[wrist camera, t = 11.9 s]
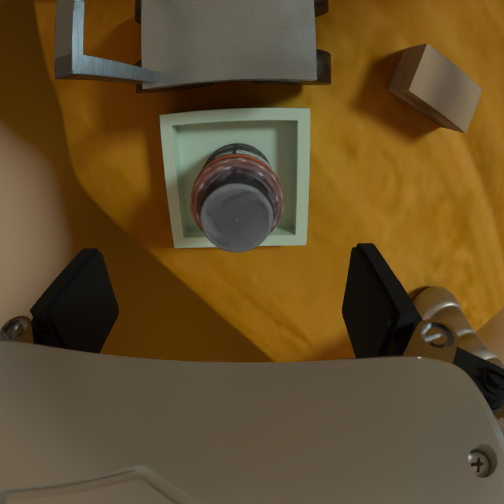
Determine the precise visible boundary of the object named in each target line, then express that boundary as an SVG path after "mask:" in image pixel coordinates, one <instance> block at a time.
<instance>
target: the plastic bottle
mask: <svg viewBox="0 0 504 504" xmlns="http://www.w3.org/2000/svg"><path fill="white" fill-rule="evenodd" d="M413 304H414V306H415V307H416V309H417V311H418V312H419V314H420V316H421V317H422V319H423V320H426V319H437V320H441V321H443V322H445V323H447V324H449V325H450V326H451V327H452V328H453V329H454V330H455V331H456V333H457V335H458V345H457V347H459V348H461V349H463V350H465V351H468V352H470V353H472V354H474V355H476V356H478V357H480V358H483V359H485V360H487V361H489V362H491V363H493V364H495V365H497V366H500V367H501V368H503V369H504V364H503V363H502V362H501V360H500V359H499V358H498V357H497V356H496V355H495V354H494V353H493V352H492V351H491V350H490V349H489V348H488V347H487V346H486V345H485V343H484V342H483V341H482V340H481V338H480V337H479V336H478V335H477V334H476V332H475V331H474V330H473V329H472V327H471V325H470V324H469V322H468V320H467V319H466V317H465V315H464V314H463V312H462V310H461V307H460V305H459V303H458V301H457V300H456V298H455V296H454V295H453V294H452V293H450V292H449V291H448V290H447V289H445V288H443V287H429V288H427V289H425V290H423V291H422V292H420V293H419V294H418V295H417V296H416V297H415V299H414V300H413Z"/></svg>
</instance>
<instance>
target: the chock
mask: <svg viewBox="0 0 504 504" xmlns="http://www.w3.org/2000/svg"><path fill="white" fill-rule="evenodd" d="M387 91H389V92H390V93H392V94H394V95H395V96H397V97H398V98H400V99H402V100H403V101H405V102H406V103H408V104H409V105H411V106H412V107H414V108H415V109H417V110H418V111H420V112H421V113H422V114H424V115H425V116H427V117H428V118H430V119H431V120H432V121H434V122H435V123H436V124H438V125H439V126H440V127H443V128H447V129H451V130H455V131H459V132H463V133H466V132H467V130H468V127H469V125H470V122H471V120H472V117H473V115H474V112H475V109H476V107H477V104H478V101H479V98H480V95H481V93H482V89H481V88H480V87H479V86H478V85H477V84H476V83H475V82H474V81H473V80H472V79H471V78H469V77H468V76H467V75H466V74H465V73H464V72H463V71H461V70H460V69H459V68H458V67H457V66H456V65H454V64H453V63H452V62H451V61H449V60H448V59H447V58H446V57H444V56H443V55H442V54H441V53H439V52H438V51H437V50H435V49H434V48H433V47H431V46H430V45H429V44H423V45H418V46H414V47H410V48H406V49H404V51H403V54H402V56H401V59H400V61H399V64H398V66H397V68H396V71H395V73H394V76H393V78H392V80H391V83H390V85H389V87H388V90H387Z"/></svg>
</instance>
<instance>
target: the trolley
mask: <svg viewBox="0 0 504 504" xmlns="http://www.w3.org/2000/svg"><path fill="white" fill-rule="evenodd" d="M84 6H85V0H57V10H56V25H55V79H73V80H97V81H112V82H124V83H134V84H136V93H153V92H163V91H173V90H182V89H191V88H199V87H206V86H211V85H213V83H214V82H230V81H252V83H257V84H280V85H329V84H331V54H330V53H328V52H326V51H323V50H318V49H316V33H315V17H317V16H321V15H324V14H326V13H327V12H328V0H135V21H136V22H137V23H139V24H141V55H142V60H140V61H138V62H136V63H135V66H133V65H129V64H125V63H121V62H117V61H112V60H107V59H103V58H98V57H93V56H87V55H83V25H84Z"/></svg>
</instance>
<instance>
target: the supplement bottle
mask: <svg viewBox="0 0 504 504" xmlns="http://www.w3.org/2000/svg"><path fill="white" fill-rule="evenodd" d="M190 206H191V212H192V216H193V218H194V221H195V223H196V224H197V226H198V227H199V229H200V230H201V231H202V232H203V233H204V234H205V236H206V237H207V239H208V240H209V241H210V242H211V243H212V244H214V245H215V246H216V247H218V248H220V249H223V250H226V251H230V252H244V251H248V250H251V249H253V248H255V247H257V246H259V245H260V244H261V243H262V242H263V241H264V240H265V239H266V238H267V236H268V235H269V234H270V233H271V232H272V231H273V230H274V229H275V228H276V226H277V225H278V223H279V221H280V219H281V216H282V214H283V208H284V196H283V191H282V187H281V185H280V182H279V180H278V178H277V176H276V174H275V172H274V171H273V169H272V167H271V165H270V163H269V161H268V160H267V158H266V157H265V155H264V154H263V153H262V152H260V151H259V150H258V149H256V148H255V147H253V146H250V145H248V144H243V143H232V144H228V145H225V146H223V147H221V148H219V149H218V150H216V151H215V152H214V153H213V154H212V155H211V156H210V157H209V158H208V160H207V161H206V163H205V165H204V166H203V168H202V170H201V171H200V173H199V174H198V176H197V178H196V180H195V182H194V185H193V188H192V191H191V198H190Z"/></svg>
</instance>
